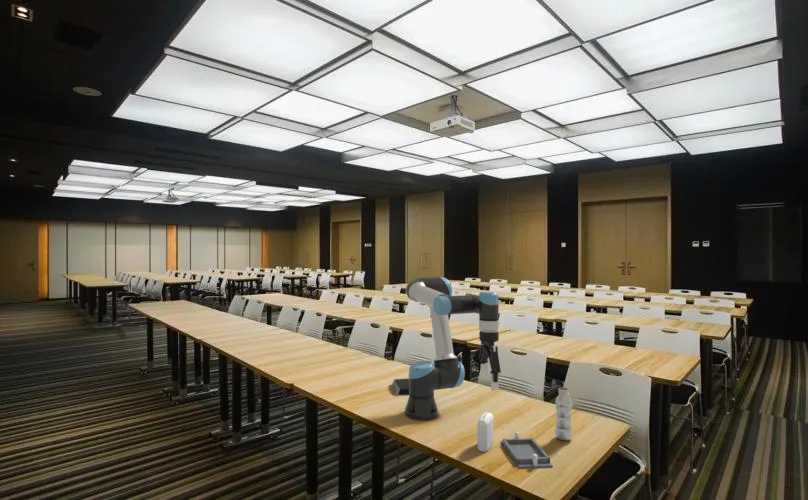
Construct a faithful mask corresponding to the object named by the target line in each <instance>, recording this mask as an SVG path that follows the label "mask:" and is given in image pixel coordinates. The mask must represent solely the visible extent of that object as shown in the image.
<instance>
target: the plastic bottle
mask: <svg viewBox="0 0 808 500" xmlns="http://www.w3.org/2000/svg"><path fill="white" fill-rule="evenodd" d="M569 391H570V389H569V388H567V387H559V388H558V395H557V396H556V398H555V402H554V403H555V409H556V424H555V429H554V434H555V437H556V439H558V440H561V441H571V439H572V438H573V433H574V432H573V428H572V411H573V405H574V404H573V400H572V398H571V397H570V396H569V395H570V392H569Z"/></svg>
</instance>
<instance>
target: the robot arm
mask: <svg viewBox="0 0 808 500" xmlns="http://www.w3.org/2000/svg"><path fill="white" fill-rule="evenodd" d="M405 294H406V297H407V298H408V299H409V300H411V301H412V302H415V303H422V304H424V305H426V306H427V307H428V308H429V312H430V319H431V326H432V335H433V342H434V349H435V358H434V359H433V361H431V360H420V361H416V362H413V363H412V364H411V365H410V366H409V369H408V379H409V395H408V399H407V402H406V405H405V409H404V411H405V412H404V414H405V416H406V417H407V418H409V419H412V420H418V421H428V420H432V419H435V418H436V417H437V416H439V415H438V414H439V412H438V411H439V410H438V409H439V408H438V406H437V402H436V400H435V391H437V390H438V391H439V390H446V389H454V388H457V387H460V386H462V384H463V383H464V380H465V374H466V373H465V367H464V365H463V363H462V362H461V361H459V359H458V356H456V355H455V353H454V352H455V351H454V347H453V339H452V332H451V326H450V319H449V315H461V314H463V315H465V314H478V329H479V332H478V333H479V335H478V336H479V341H480V348H479V349H480V350H479V356H478V360H479V362H480V380H481V381H488V379H489V377H488V376H489V373H490V390H491V391H499V386H500V385H499V383H500V381H499V374H501V372H502V371H501V364H500V358H499V352H498V345H495V343H498V342H499V339H500V337H499V335H500V333H499V325H500V324H501V323H500V321H499V309H500V307H499V303H500V301H499V294H498V293H497V292H496V291H480V292H479V293H478V294H474V293H473V294H472V293H471V294H470V293H469V294H465V295H453V288H452V284H451V282H450V280H449V279H447V278H446V277H440V276H435V277H434V276H433V277H416V278H413V279H411V280H410V281H409V282H408V283H407V285H406V287H405ZM488 365H490V369H491V371H490V372H489V370H488V369H489V367H488ZM488 372H489V373H488Z"/></svg>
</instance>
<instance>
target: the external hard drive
mask: <svg viewBox="0 0 808 500" xmlns="http://www.w3.org/2000/svg"><path fill="white" fill-rule="evenodd" d="M391 386H392V390H393V392H394V393H395V395H396V394H397V395H402V396H409V378H394V379H393V381H392V384H391ZM397 395H396V396H397Z"/></svg>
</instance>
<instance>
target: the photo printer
mask: <svg viewBox="0 0 808 500" xmlns="http://www.w3.org/2000/svg"><path fill="white" fill-rule="evenodd" d="M494 420H495V419H494V415H493V414H492V413H491V412H488V411H485V412H484V413H482V415H480V416H479V418H478V421H477V430H476V431H477V433H476V435H477V441H476V442H477V445H476V446H477V450H478V451H479V452H482V453H484V452H488V451H489V449H491V447H492V446H493V444H494V439H495V437H494V433H495V431H494V425H495V424H494V423H495V422H494Z"/></svg>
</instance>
